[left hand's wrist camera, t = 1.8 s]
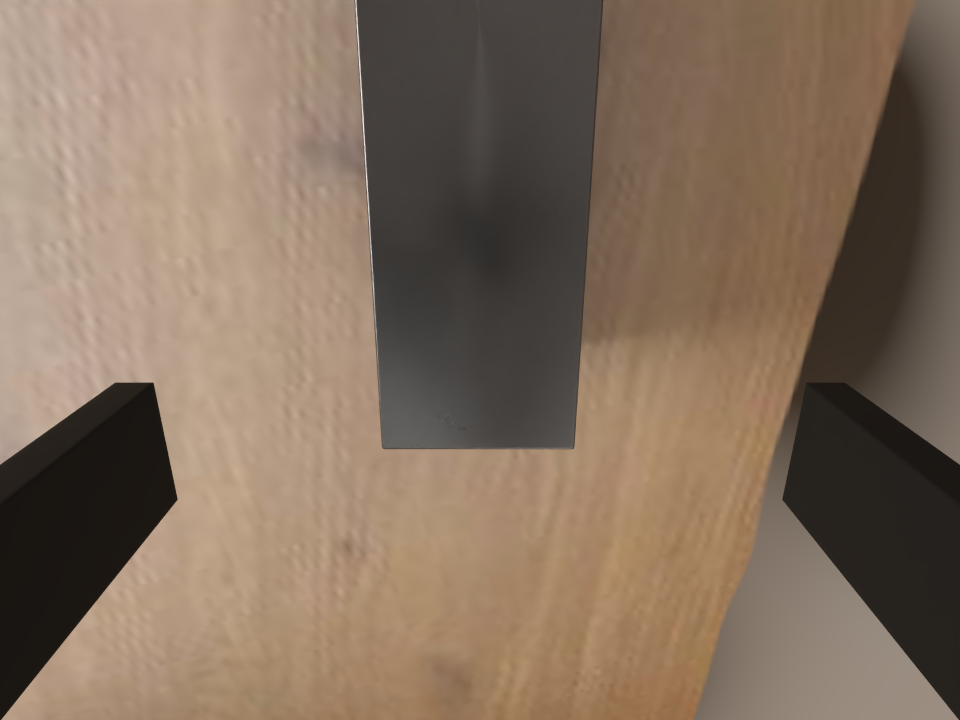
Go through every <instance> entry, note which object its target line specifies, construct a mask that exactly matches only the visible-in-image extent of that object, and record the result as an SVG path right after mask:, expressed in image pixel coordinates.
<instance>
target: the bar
mask: <svg viewBox="0 0 960 720" xmlns="http://www.w3.org/2000/svg"><path fill="white" fill-rule="evenodd" d="M602 11H603V0H355V14H356V31H357V47H358V63H359V80H360V96H361V112H362V129H363V145H364V161H365V178H366V194H367V210H368V227H369V243H370V259H371V276H372V292H373V308H374V325H375V341H376V357H377V374H378V390H379V406H380V423H381V439H382V448H383V449H573V448H574V445H575V429H576V414H577V398H578V383H579V367H580V352H581V336H582V321H583V305H584V290H585V274H586V259H587V243H588V228H589V212H590V197H591V181H592V166H593V150H594V135H595V119H596V104H597V88H598V73H599V57H600V42H601V26H602Z"/></svg>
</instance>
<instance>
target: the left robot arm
mask: <svg viewBox="0 0 960 720" xmlns="http://www.w3.org/2000/svg"><path fill="white" fill-rule="evenodd" d="M177 500H178V499H177V494H176V490H175V485H174V480H173V475H172V470H171V465H170V461H169V456H168V451H167V446H166V441H165V436H164V432H163V427H162V422H161V417H160V412H159V407H158V402H157V398H156V393H155V388H154V383H114V384H113V385H111V386H110V387H109V388H107V389H106V390H104V391H103V392H102V393H100V394H99V395H97V396H96V397H95V398H93V399H92V400H90V401H89V402H88V403H86V404H85V405H83V406H82V407H81V408H79V409H78V410H76V411H75V412H74V413H72V414H71V415H69V416H68V417H67V418H65V419H64V420H62V421H61V422H60V423H58V424H57V425H55V426H54V427H53V428H51V429H50V430H48V431H47V432H46V433H44V434H43V435H41V436H40V437H39V438H37V439H36V440H34V441H33V442H32V443H30V444H29V445H27V446H26V447H25V448H23V449H22V450H20V451H19V452H18V453H16V454H15V455H13V456H12V457H11V458H9V459H8V460H6V461H5V462H4V463H2V464H1V465H0V720H1V719H2V718H3V717H4V715H5V714H6V713H7V712H8V710H9V709H10V708H11V707H12V705H13V704H14V703H15V702H16V700H17V699H18V698H19V697H20V696H21V694H22V693H23V692H24V691H25V689H26V688H27V687H28V686H29V684H30V683H31V682H32V681H33V679H34V678H35V677H36V676H37V674H38V673H39V672H40V671H41V669H42V668H43V667H44V666H45V664H46V663H47V662H48V661H49V659H50V658H51V657H52V656H53V654H54V653H55V652H56V651H57V649H58V648H59V647H60V646H61V644H62V643H63V642H64V641H65V639H66V638H67V637H68V636H69V634H70V633H71V632H72V631H73V629H74V628H75V627H76V626H77V624H78V623H79V622H80V621H81V619H82V618H83V617H84V616H85V614H86V613H87V612H88V611H89V609H90V608H91V607H92V606H93V604H94V603H95V602H96V601H97V599H98V598H99V597H100V596H101V594H102V593H103V592H104V591H105V590H106V588H107V587H108V586H109V585H110V583H111V582H112V581H113V580H114V578H115V577H116V576H117V575H118V573H119V572H120V571H121V570H122V568H123V567H124V566H125V565H126V563H127V562H128V561H129V560H130V558H131V557H132V556H133V555H134V553H135V552H136V551H137V550H138V548H139V547H140V546H141V545H142V543H143V542H144V541H145V540H146V538H147V537H148V536H149V535H150V533H151V532H152V531H153V530H154V528H155V527H156V526H157V525H158V523H159V522H160V521H161V520H162V518H163V517H164V516H165V515H166V513H167V512H168V511H169V510H170V508H171V507H172V506H173V505H174V503H175V502H176V501H177ZM783 501H784V502H785V503H786V505H787V506H788V507H789V508H790V510H791V511H792V512H793V513H794V515H795V516H796V517H797V518H798V520H799V521H800V522H801V523H802V525H803V526H804V527H805V528H806V530H807V531H808V532H809V533H810V535H811V536H812V537H813V538H814V540H815V541H816V542H817V543H818V545H819V546H820V547H821V548H822V550H823V551H824V552H825V553H826V554H827V556H828V557H829V558H830V560H831V561H832V562H833V563H834V565H835V566H836V567H837V568H838V570H839V571H840V572H841V573H842V575H843V576H844V577H845V578H846V580H847V581H848V582H849V583H850V584H851V586H852V587H853V588H854V590H855V591H856V592H857V593H858V594H859V596H860V597H861V598H862V599H863V601H864V602H865V603H866V604H867V606H868V607H869V608H870V609H871V611H872V612H873V613H874V614H875V616H876V617H877V618H878V619H879V621H880V622H881V623H882V624H883V626H884V627H885V628H886V629H887V631H888V632H889V633H890V634H891V636H892V637H893V638H894V639H895V641H896V642H897V643H898V644H899V646H900V647H901V648H902V649H903V651H904V652H905V653H906V654H907V656H908V657H909V658H910V659H911V661H912V662H913V663H914V664H915V665H916V667H917V668H918V669H919V671H920V672H921V673H922V674H923V676H924V677H925V678H926V679H927V681H928V682H929V683H930V684H931V686H932V687H933V688H934V689H935V691H936V692H937V693H938V694H939V695H940V697H941V698H942V699H943V700H944V702H945V703H946V704H947V705H948V707H949V708H950V709H951V710H952V712H953V713H954V714H955V715H956V717H957V718H958V719H959V720H960V465H959V464H958V463H956V462H955V461H954V460H952V459H951V458H949V457H948V456H947V455H945V454H944V453H942V452H941V451H940V450H938V449H937V448H935V447H934V446H933V445H931V444H930V443H928V442H927V441H926V440H924V439H923V438H921V437H920V436H919V435H917V434H916V433H914V432H913V431H912V430H910V429H909V428H907V427H906V426H905V425H903V424H902V423H900V422H899V421H898V420H896V419H895V418H893V417H892V416H891V415H889V414H888V413H886V412H885V411H884V410H882V409H881V408H879V407H878V406H877V405H875V404H874V403H872V402H871V401H870V400H868V399H867V398H865V397H864V396H862V395H861V394H860V393H858V392H857V391H855V390H854V389H853V388H851V387H850V386H849V385H847V384H846V383H806V388H805V393H804V398H803V402H802V407H801V412H800V417H799V422H798V427H797V431H796V436H795V441H794V446H793V451H792V456H791V461H790V465H789V470H788V475H787V480H786V485H785V490H784V494H783Z"/></svg>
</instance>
